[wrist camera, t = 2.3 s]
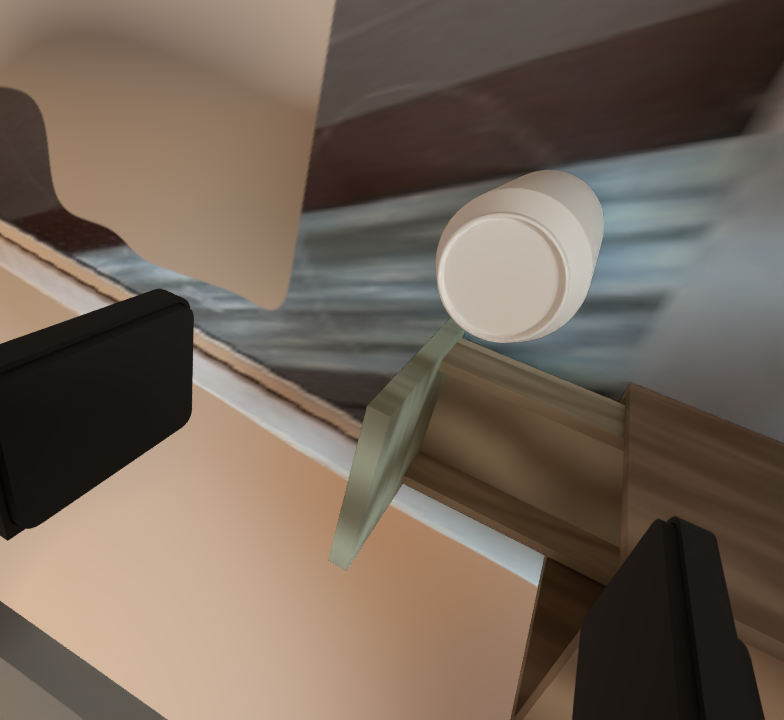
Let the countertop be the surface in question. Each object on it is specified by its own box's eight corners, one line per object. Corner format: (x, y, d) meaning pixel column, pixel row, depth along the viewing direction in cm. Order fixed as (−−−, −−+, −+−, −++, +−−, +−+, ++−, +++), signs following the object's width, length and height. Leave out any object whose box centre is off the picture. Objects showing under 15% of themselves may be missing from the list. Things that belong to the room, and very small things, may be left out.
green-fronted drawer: (433, 311, 33) (344, 394, 23) (751, 439, 28) (817, 618, 18) (395, 438, 39) (310, 550, 29) (654, 562, 34) (662, 752, 24)
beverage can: (481, 263, 31) (407, 330, 21) (508, 156, 28) (437, 175, 18) (582, 292, 29) (555, 380, 19) (623, 181, 26) (617, 218, 16)
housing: (630, 382, 30) (626, 584, 17) (985, 523, 25) (1358, 949, 12) (552, 516, 36) (505, 741, 23) (828, 649, 31) (965, 1024, 18)
